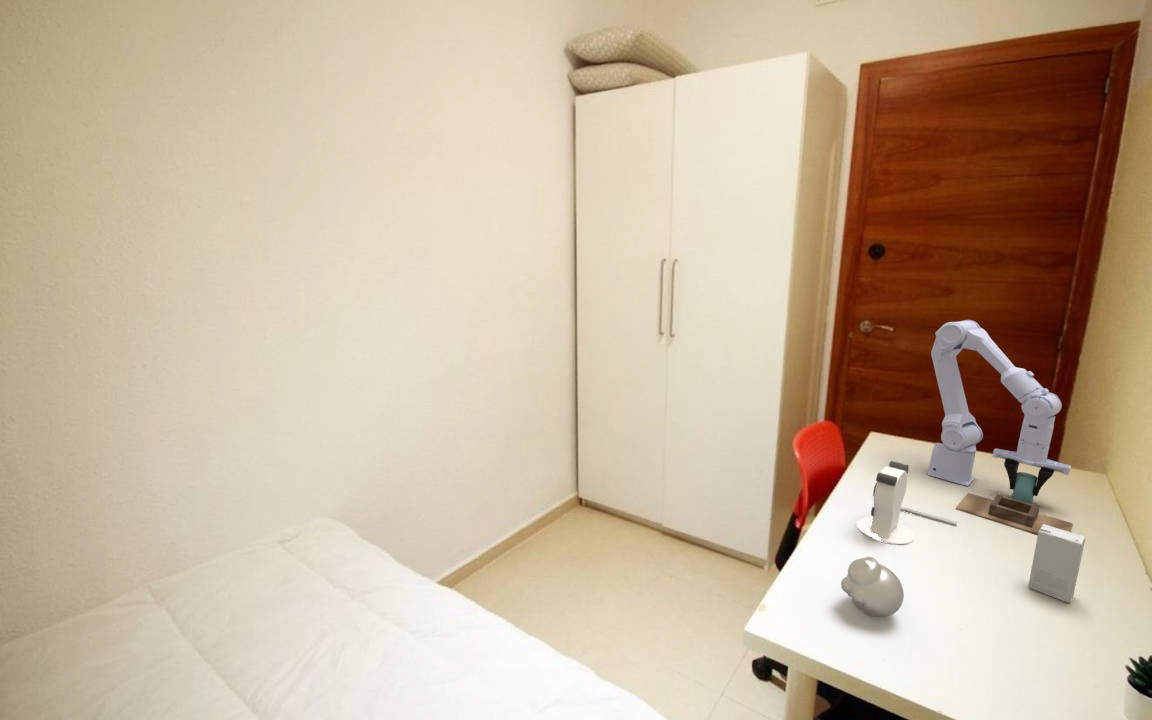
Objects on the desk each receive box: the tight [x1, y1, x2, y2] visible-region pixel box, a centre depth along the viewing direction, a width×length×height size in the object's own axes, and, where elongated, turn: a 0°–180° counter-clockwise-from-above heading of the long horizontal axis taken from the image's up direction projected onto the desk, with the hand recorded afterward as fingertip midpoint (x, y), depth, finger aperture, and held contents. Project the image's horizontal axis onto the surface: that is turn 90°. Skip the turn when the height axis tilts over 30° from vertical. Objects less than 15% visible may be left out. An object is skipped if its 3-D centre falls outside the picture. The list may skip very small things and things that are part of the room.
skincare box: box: [1027, 524, 1086, 604], centre depth 94 cm, size 6×4×12 cm
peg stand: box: [955, 492, 1073, 536], centre depth 122 cm, size 20×12×3 cm, turn 41°
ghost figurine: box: [840, 556, 905, 618], centre depth 89 cm, size 9×10×10 cm
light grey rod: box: [900, 506, 958, 527], centre depth 122 cm, size 12×1×1 cm, turn 50°
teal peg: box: [1011, 471, 1038, 504], centre depth 129 cm, size 4×4×7 cm
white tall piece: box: [869, 460, 915, 545], centre depth 115 cm, size 12×11×15 cm
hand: (1023, 491), depth 130 cm, fingers closed on teal peg, 4 cm apart
